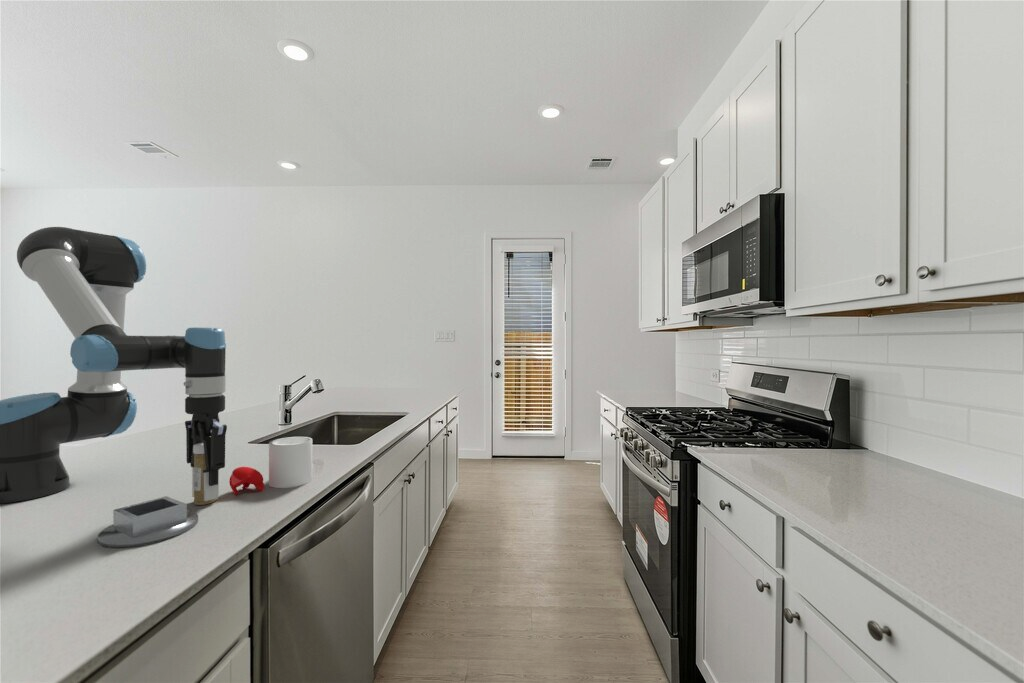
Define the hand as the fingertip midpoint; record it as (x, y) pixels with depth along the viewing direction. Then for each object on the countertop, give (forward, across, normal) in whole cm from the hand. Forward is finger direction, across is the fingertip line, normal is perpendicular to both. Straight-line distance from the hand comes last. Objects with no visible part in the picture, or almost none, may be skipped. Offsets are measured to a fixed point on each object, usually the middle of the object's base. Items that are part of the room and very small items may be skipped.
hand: (205, 496), depth 101 cm
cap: (+1, +1, +9) cm, 9 cm away
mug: (+1, +2, +20) cm, 20 cm away
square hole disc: (+1, +7, -13) cm, 15 cm away
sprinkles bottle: (+1, 0, 0) cm, 1 cm away
